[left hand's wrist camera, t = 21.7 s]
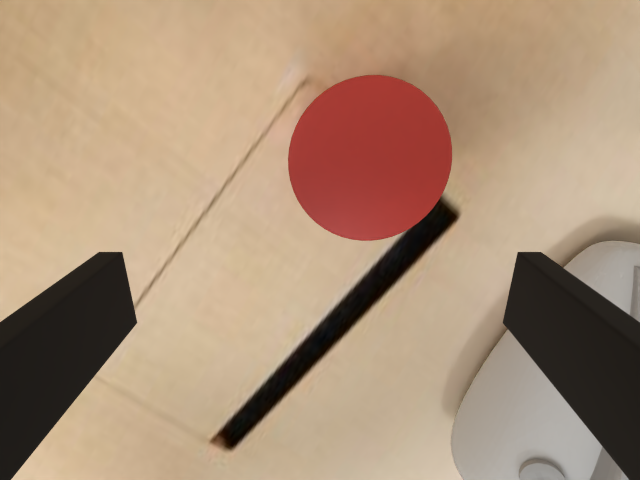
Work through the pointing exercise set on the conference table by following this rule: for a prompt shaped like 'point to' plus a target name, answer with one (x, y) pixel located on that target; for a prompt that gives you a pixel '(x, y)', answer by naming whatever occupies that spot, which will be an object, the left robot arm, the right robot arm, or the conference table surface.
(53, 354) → the left robot arm
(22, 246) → the conference table surface
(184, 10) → the conference table surface
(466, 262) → the conference table surface
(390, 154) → the canister
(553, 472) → the projector
